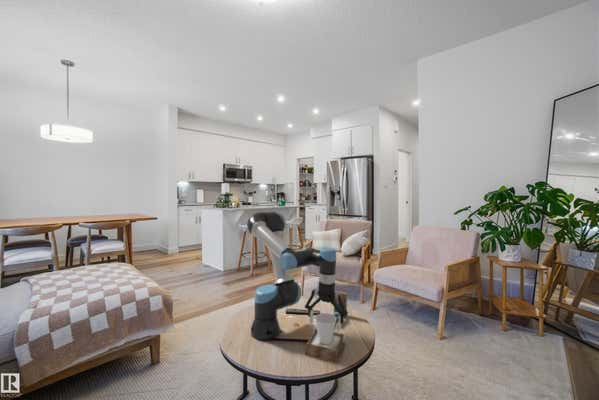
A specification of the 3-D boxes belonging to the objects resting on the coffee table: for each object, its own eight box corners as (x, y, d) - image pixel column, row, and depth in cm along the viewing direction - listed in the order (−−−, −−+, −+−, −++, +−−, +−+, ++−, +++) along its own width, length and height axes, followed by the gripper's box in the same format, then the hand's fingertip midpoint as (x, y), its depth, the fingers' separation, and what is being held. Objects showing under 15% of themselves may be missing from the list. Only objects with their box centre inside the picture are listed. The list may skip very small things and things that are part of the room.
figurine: (334, 313, 160) (347, 315, 158) (329, 327, 143) (344, 329, 141) (334, 290, 160) (347, 291, 158) (329, 302, 143) (344, 303, 141)
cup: (335, 348, 116) (335, 324, 116) (313, 345, 118) (313, 321, 118) (336, 336, 126) (337, 314, 126) (316, 334, 128) (316, 312, 128)
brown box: (304, 354, 119) (304, 343, 118) (313, 338, 132) (313, 328, 132) (339, 363, 113) (339, 351, 113) (345, 345, 126) (345, 334, 126)
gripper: (299, 280, 122) (297, 324, 123) (352, 289, 114) (350, 336, 115) (304, 275, 129) (302, 317, 130) (355, 283, 121) (353, 328, 122)
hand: (325, 326), depth 123 cm, fingers open, 13 cm apart
